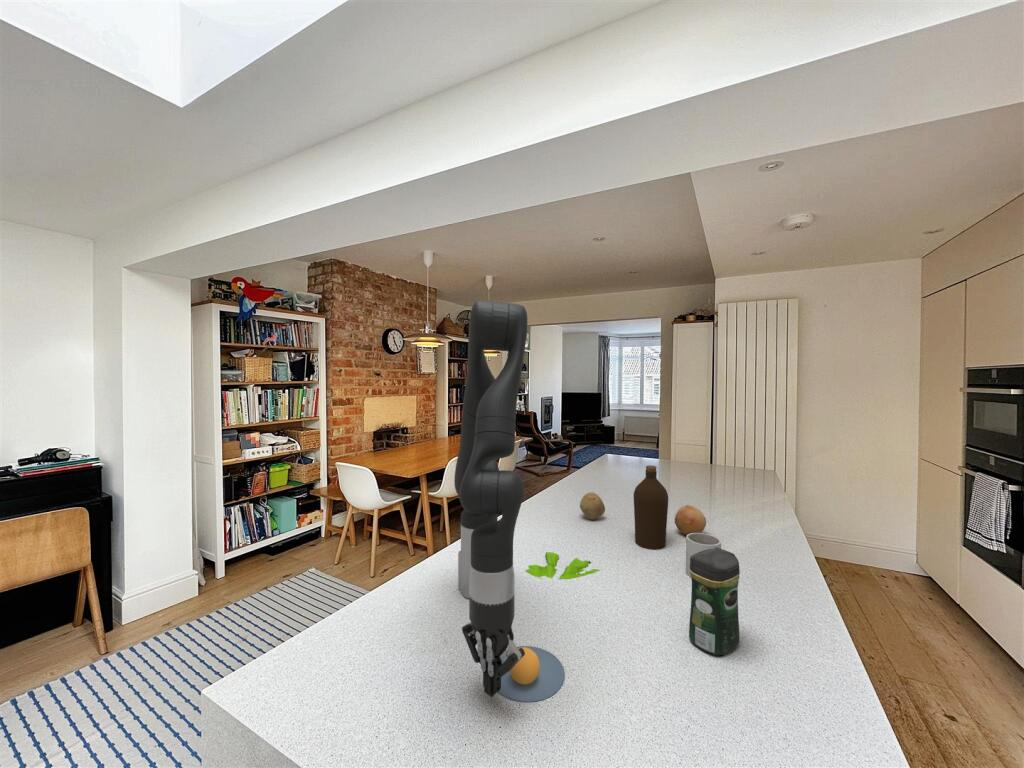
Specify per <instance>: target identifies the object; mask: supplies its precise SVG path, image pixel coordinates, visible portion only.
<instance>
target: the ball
mask: <svg viewBox="0 0 1024 768" xmlns="http://www.w3.org/2000/svg"><path fill="white" fill-rule="evenodd" d="M519 649H520V648H519ZM522 649H523V650H524V652H525V655H524V656H523V657H522V658H521V660H520V661H519V662H518V663H517V664H516V665H515V666H514V667H513V668H512V669H511V670H510V674H511V676H512V678H513V679H514V680H515V681H516V682H517V683H519V684H522V685H527V684H530V683H532V682H533V681H534V680H535V679H536V678H537V676H538V674H539V669H540V663H539V659H538V657H537V655H536V654H535V652H534V651H533V650H531V649H529V648H525V647H523V648H522Z"/></svg>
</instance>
